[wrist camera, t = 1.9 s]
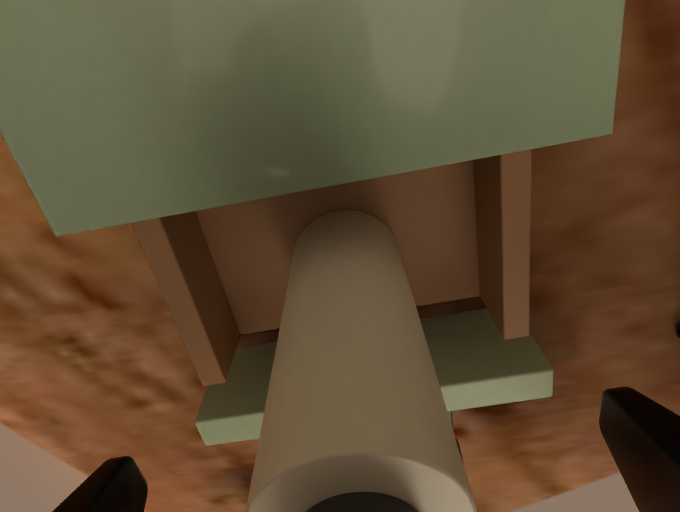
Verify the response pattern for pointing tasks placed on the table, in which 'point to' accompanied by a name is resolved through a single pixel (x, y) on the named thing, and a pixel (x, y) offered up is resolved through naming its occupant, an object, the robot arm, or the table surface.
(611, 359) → the table surface
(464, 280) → the drawer
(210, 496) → the table surface
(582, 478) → the table surface
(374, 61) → the cabinet
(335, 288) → the lotion bottle
